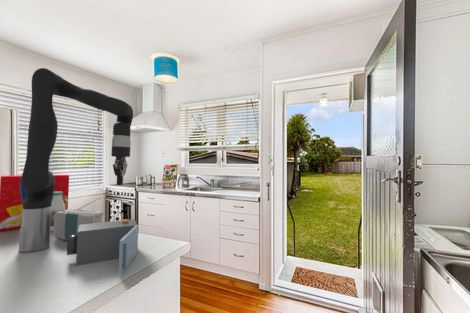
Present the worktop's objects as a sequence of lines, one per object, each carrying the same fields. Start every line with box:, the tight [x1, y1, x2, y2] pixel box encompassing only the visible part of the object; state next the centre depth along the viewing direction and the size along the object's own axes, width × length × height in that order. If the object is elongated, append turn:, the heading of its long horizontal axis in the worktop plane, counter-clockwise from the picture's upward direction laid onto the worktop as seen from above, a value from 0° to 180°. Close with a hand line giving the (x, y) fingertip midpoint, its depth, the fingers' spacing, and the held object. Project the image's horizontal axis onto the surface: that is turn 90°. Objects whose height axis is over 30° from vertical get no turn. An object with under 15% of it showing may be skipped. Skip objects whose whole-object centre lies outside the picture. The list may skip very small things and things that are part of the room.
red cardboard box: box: [0, 174, 70, 233], centre depth 125 cm, size 28×8×28 cm, turn 134°
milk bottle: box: [50, 191, 65, 232], centre depth 119 cm, size 8×8×20 cm
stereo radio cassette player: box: [53, 197, 104, 241], centre depth 106 cm, size 21×8×20 cm, turn 76°
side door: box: [117, 224, 139, 276], centre depth 82 cm, size 17×2×11 cm, turn 8°
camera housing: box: [66, 218, 138, 266], centre depth 89 cm, size 23×10×13 cm, turn 121°
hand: (119, 184), depth 100 cm, fingers closed
